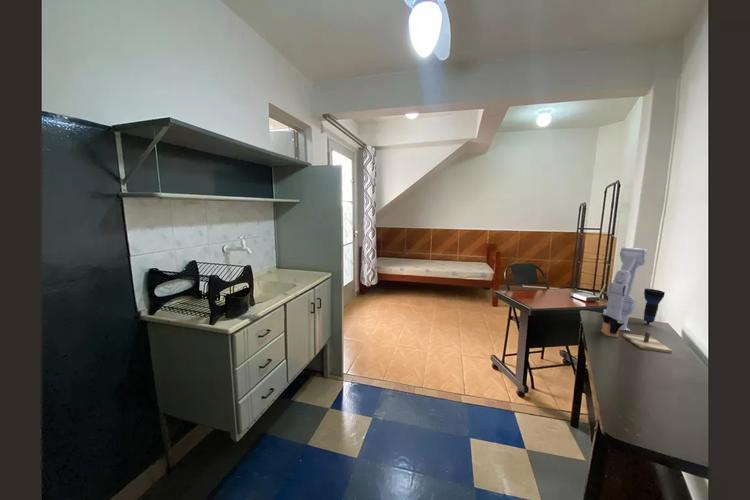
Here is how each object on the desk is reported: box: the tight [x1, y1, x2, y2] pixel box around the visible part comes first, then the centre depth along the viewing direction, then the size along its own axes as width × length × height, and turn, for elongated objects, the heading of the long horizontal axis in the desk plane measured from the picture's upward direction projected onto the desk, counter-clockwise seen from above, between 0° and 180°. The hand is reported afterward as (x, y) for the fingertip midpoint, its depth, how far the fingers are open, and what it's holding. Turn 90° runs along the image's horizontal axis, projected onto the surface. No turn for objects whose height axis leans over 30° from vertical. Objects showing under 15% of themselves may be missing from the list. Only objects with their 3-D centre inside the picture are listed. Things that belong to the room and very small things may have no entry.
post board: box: [622, 331, 673, 354], centre depth 133 cm, size 14×12×6 cm
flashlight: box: [643, 288, 665, 325], centre depth 156 cm, size 8×8×20 cm
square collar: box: [600, 321, 621, 338], centre depth 142 cm, size 5×5×5 cm
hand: (610, 331), depth 142 cm, fingers closed on square collar, 5 cm apart
